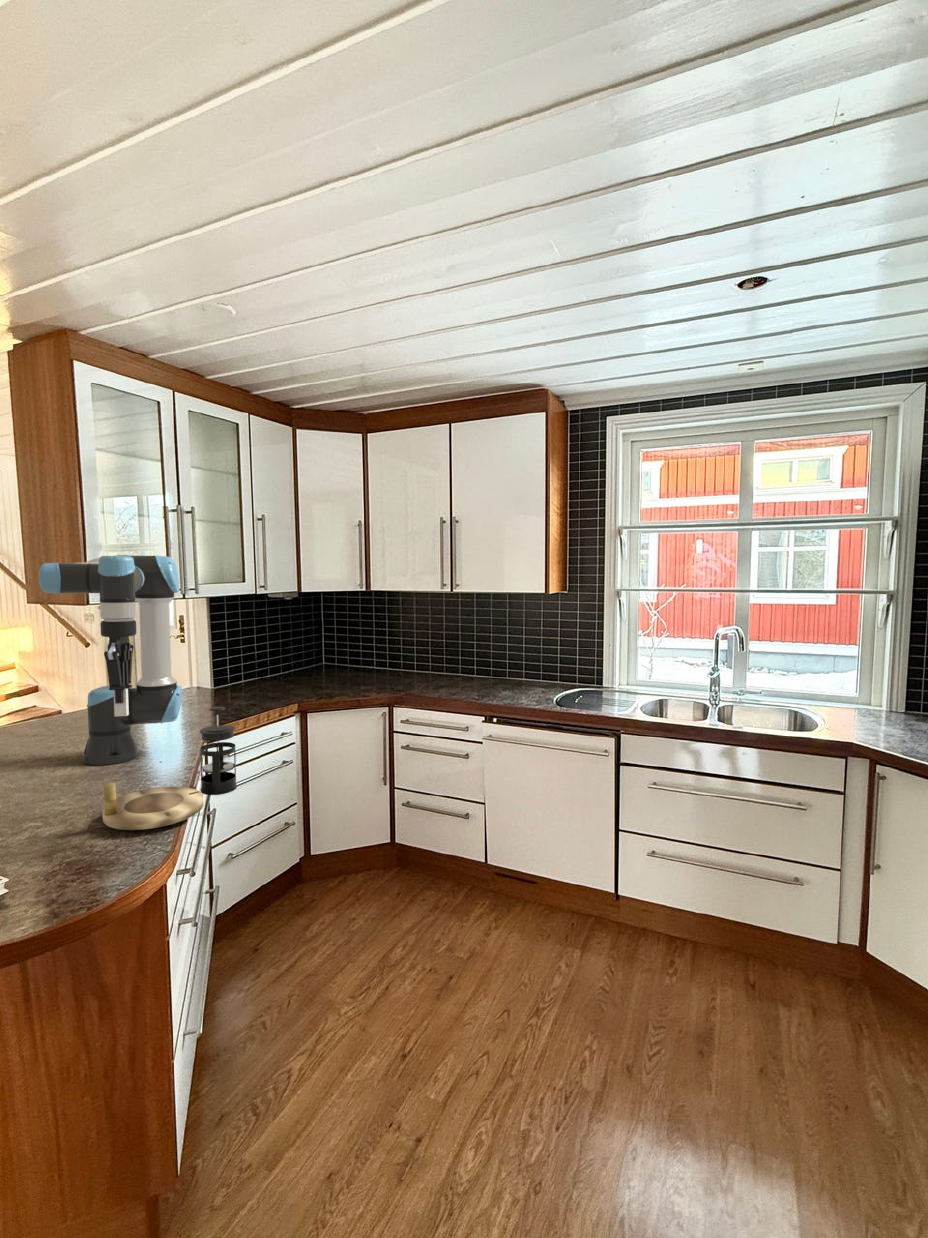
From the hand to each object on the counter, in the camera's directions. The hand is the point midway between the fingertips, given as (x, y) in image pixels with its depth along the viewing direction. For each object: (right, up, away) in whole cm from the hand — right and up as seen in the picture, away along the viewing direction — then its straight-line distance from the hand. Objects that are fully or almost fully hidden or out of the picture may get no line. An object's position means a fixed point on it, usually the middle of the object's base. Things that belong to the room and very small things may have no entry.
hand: (121, 715), depth 147 cm
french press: (+16, -24, +19) cm, 34 cm away
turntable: (+8, -24, +1) cm, 25 cm away
